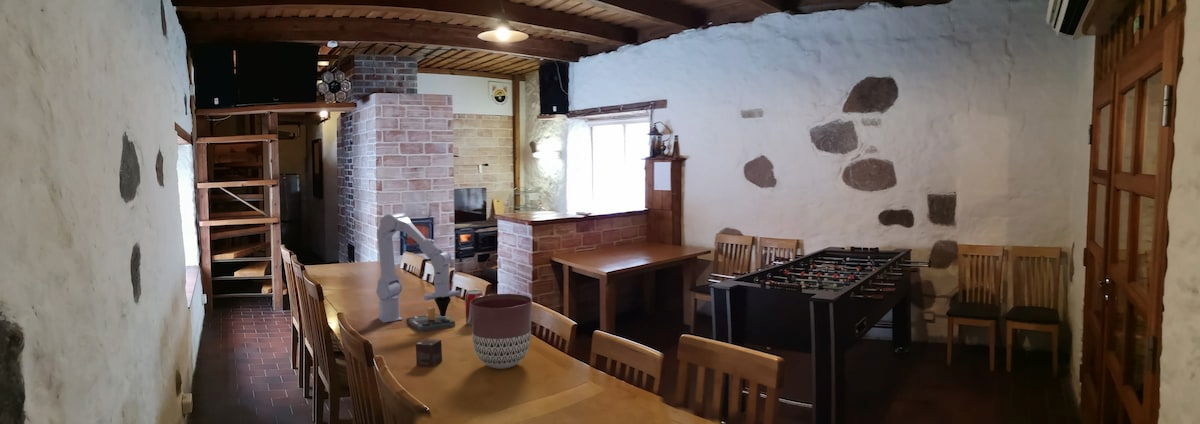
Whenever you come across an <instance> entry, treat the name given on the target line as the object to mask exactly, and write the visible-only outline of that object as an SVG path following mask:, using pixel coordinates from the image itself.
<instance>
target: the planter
mask: <svg viewBox="0 0 1200 424" xmlns="http://www.w3.org/2000/svg"><path fill="white" fill-rule="evenodd" d="M532 311H533V299H532V298H531V297H530V296H527V295H523V294H517V293H497V294H496V293H495V294H494V293H493V294H487V295H483V296H481V297H477V298H475V299H473V300H471V301H470V312H471V324H472V325H471V333H472V344H473V348H474V352H475V354H476V356H477V357H478V359H479V360H480V361H481V362H482V363H484V364H485V366H487V367H489V368H493V369H497V370H502V369H503V370H504V369H505V370H506V369H509V368H512V367H515V366H516V365H518V364H519V363H520V362H521V361H522V360H523V359H524V358H525V357H526V355H527V353H528V351H529V348H530V345H531V337H532V335H531V334H532V332H531V331H532V314H533V313H532Z"/></svg>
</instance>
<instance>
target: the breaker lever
mask: <svg viewBox="0 0 1200 424" xmlns="http://www.w3.org/2000/svg"><path fill="white" fill-rule="evenodd" d="M435 314H436V309H435V307H432V306H431V307H427V315H428V319H429V320H435Z"/></svg>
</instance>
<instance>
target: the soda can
mask: <svg viewBox="0 0 1200 424" xmlns="http://www.w3.org/2000/svg"><path fill="white" fill-rule="evenodd" d="M465 293H466V294H465V296H464V297H465V299H464V301H465V304H464V305H465V323H466V324H467V325H468V326H472V324H471V312H470V301H471V300H473V299H475V298H477V297H481V296H484V294H483V291H482V290H479V289H478V290H477V289H472V290H468V291H466V292H465Z"/></svg>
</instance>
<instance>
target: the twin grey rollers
mask: <svg viewBox="0 0 1200 424" xmlns="http://www.w3.org/2000/svg"><path fill="white" fill-rule="evenodd" d="M435 315H438V313H435ZM425 316H428V314H426V315H420V316H419V315H418V316H413V317H407V318H406V322H407V323H409V322H408V319H412V318H418V317H425Z"/></svg>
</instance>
